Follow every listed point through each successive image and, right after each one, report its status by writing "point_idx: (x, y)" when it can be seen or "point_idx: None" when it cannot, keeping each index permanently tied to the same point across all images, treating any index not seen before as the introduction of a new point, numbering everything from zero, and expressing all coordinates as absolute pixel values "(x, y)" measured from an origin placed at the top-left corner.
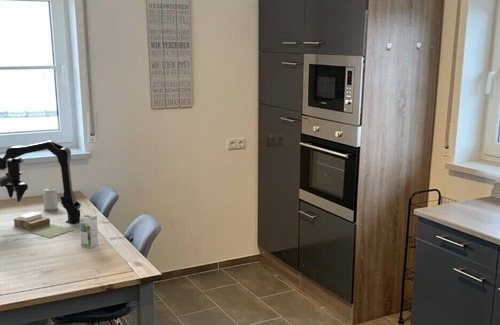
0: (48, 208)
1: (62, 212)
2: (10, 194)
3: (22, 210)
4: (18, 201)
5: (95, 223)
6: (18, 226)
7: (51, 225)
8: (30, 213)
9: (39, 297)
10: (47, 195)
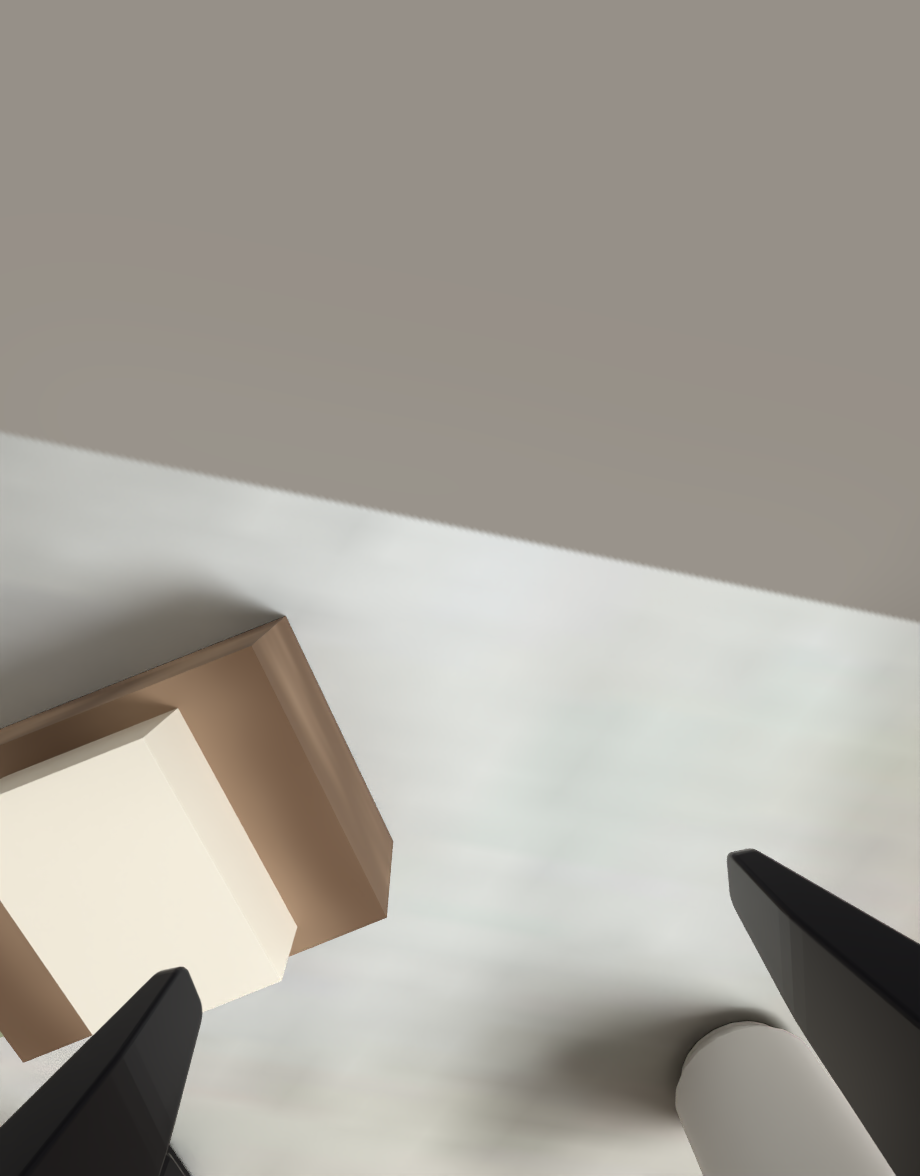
0: (698, 1072)
1: (538, 1137)
2: (815, 977)
3: (891, 818)
4: (159, 991)
5: None
6: (200, 651)
7: None
8: (196, 916)
9: None
10: None
